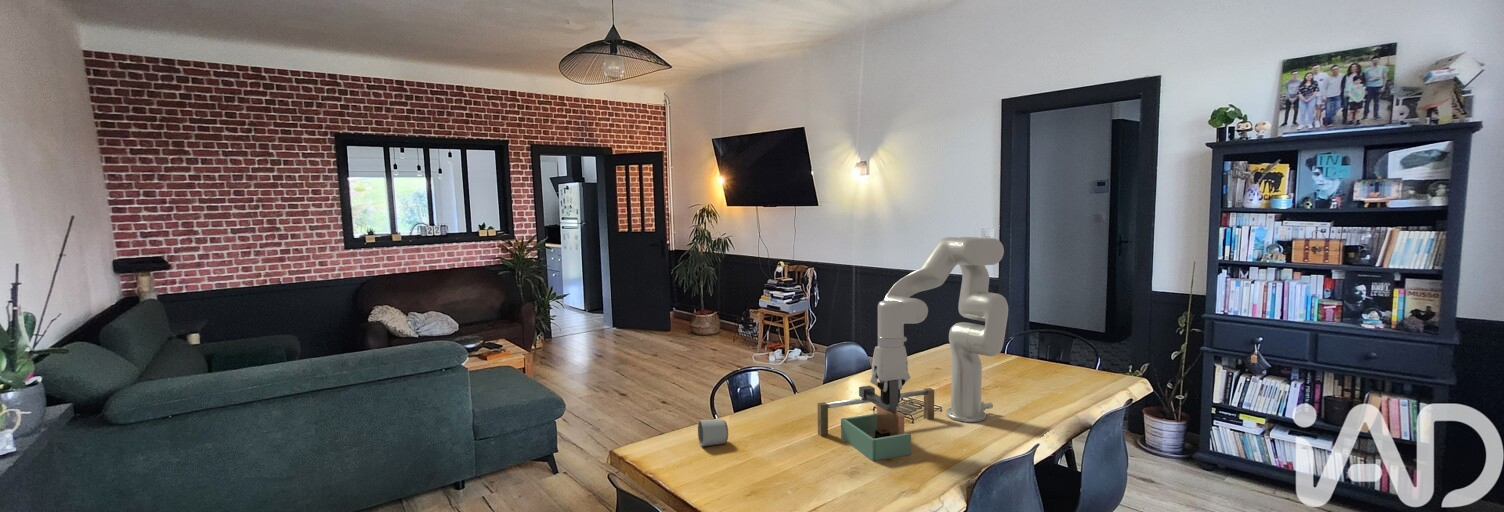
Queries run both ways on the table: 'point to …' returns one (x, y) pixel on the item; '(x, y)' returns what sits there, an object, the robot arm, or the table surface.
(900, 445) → the box
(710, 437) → the ceramic mug
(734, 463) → the table surface
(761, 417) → the table surface
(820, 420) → the rod rail
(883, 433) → the black block
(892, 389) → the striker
